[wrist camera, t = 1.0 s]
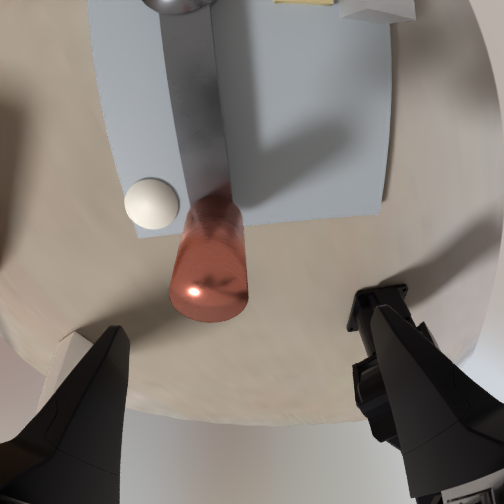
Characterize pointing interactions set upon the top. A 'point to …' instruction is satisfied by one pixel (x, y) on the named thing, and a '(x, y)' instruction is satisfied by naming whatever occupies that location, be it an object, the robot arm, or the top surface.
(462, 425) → the robot arm
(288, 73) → the blue-grey rectangular board
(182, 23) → the lever
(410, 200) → the top surface
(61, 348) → the milk
